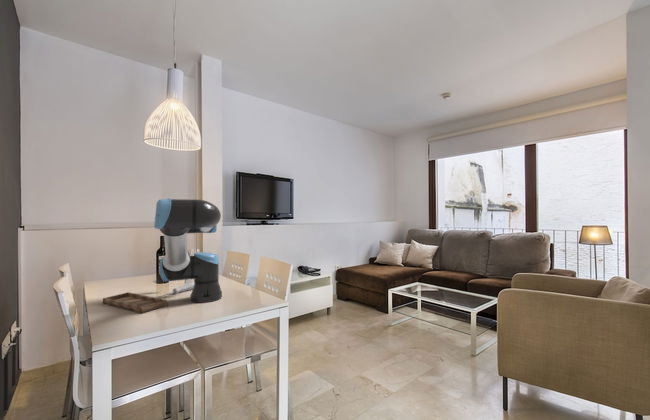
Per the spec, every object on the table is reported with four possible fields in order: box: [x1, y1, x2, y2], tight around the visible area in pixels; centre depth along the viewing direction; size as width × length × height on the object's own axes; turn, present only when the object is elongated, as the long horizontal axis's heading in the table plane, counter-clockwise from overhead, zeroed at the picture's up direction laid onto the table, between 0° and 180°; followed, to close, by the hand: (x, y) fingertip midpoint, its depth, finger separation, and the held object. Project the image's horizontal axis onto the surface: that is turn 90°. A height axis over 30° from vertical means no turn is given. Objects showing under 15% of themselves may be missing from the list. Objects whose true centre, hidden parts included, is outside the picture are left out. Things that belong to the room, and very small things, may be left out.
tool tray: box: [102, 291, 168, 314], centre depth 142 cm, size 30×12×2 cm, turn 64°
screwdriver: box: [156, 281, 194, 299], centre depth 162 cm, size 5×25×4 cm, turn 154°
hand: (178, 281), depth 162 cm, fingers open, 13 cm apart
